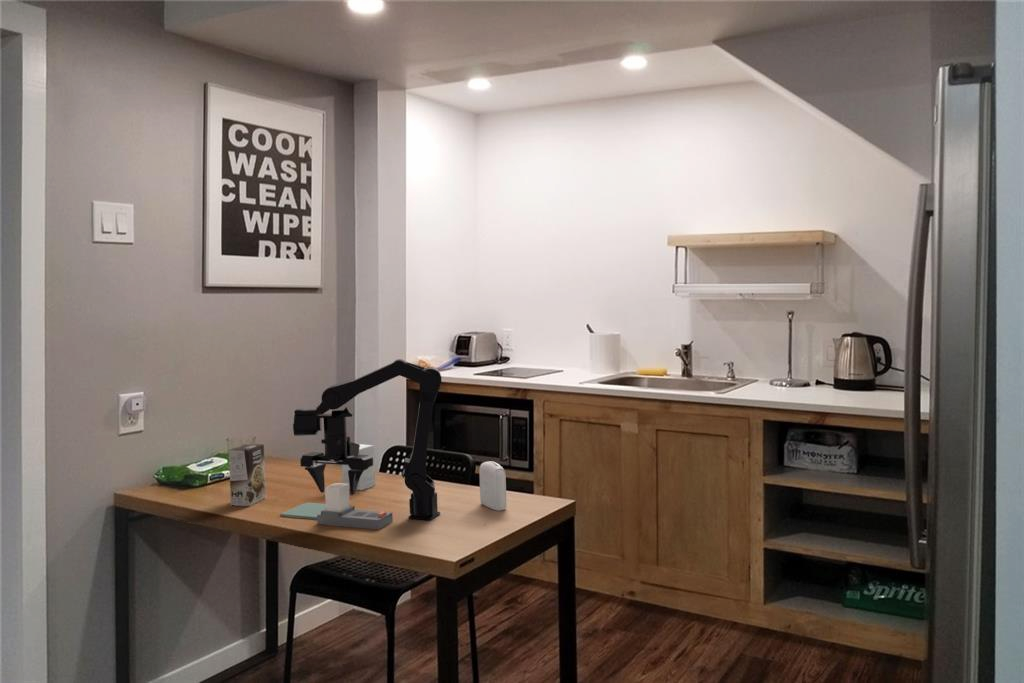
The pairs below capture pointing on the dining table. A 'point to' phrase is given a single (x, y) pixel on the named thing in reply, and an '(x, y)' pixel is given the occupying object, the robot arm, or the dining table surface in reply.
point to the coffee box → (247, 474)
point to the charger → (337, 497)
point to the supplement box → (367, 475)
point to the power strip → (355, 518)
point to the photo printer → (492, 485)
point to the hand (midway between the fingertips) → (337, 493)
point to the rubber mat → (305, 511)
